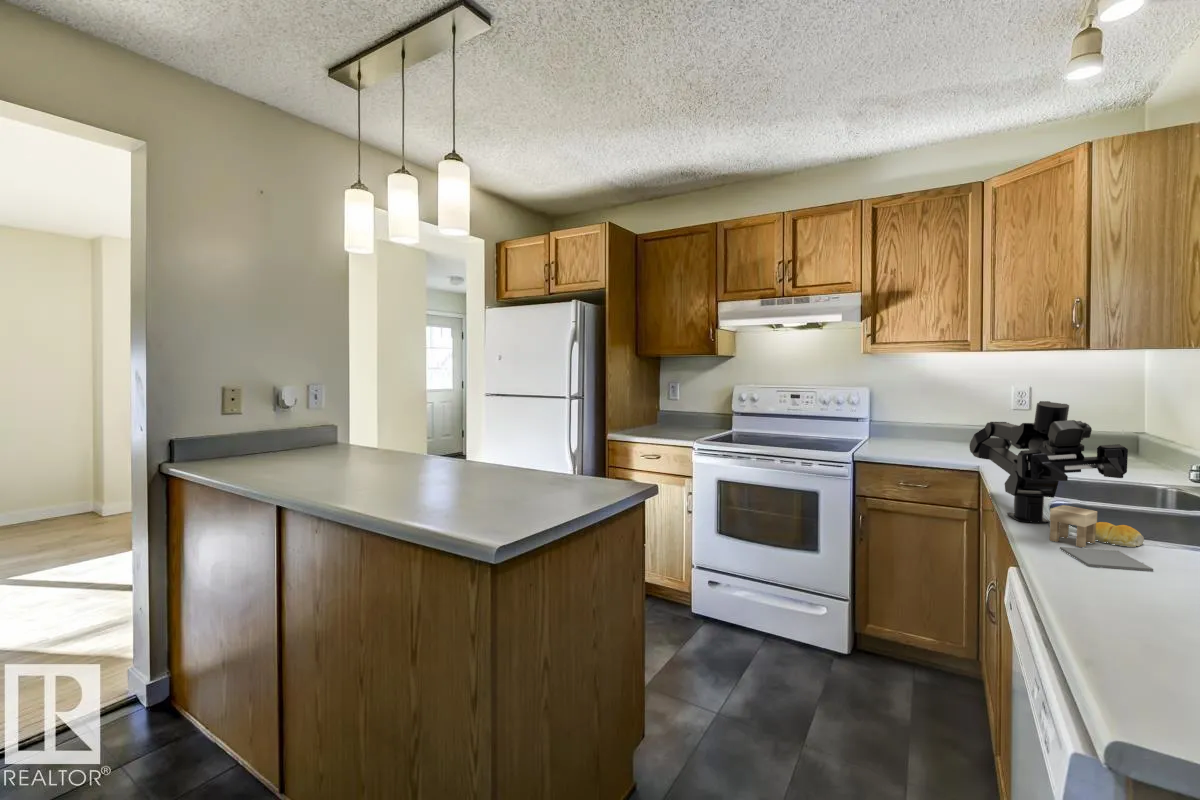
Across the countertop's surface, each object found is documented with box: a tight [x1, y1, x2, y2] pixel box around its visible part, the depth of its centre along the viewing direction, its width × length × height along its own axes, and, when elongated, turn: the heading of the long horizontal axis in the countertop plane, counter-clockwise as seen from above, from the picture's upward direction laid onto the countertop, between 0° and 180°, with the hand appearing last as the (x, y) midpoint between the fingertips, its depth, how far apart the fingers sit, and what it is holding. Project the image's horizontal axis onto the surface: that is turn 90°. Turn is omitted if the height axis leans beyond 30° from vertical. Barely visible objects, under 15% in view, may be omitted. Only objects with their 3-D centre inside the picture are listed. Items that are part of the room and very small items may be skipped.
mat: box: [1059, 546, 1154, 572], centre depth 107 cm, size 10×10×1 cm
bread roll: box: [1095, 521, 1145, 548], centre depth 118 cm, size 8×9×4 cm
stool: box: [1049, 504, 1098, 548], centre depth 118 cm, size 6×6×7 cm
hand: (1094, 477), depth 109 cm, fingers open, 9 cm apart
